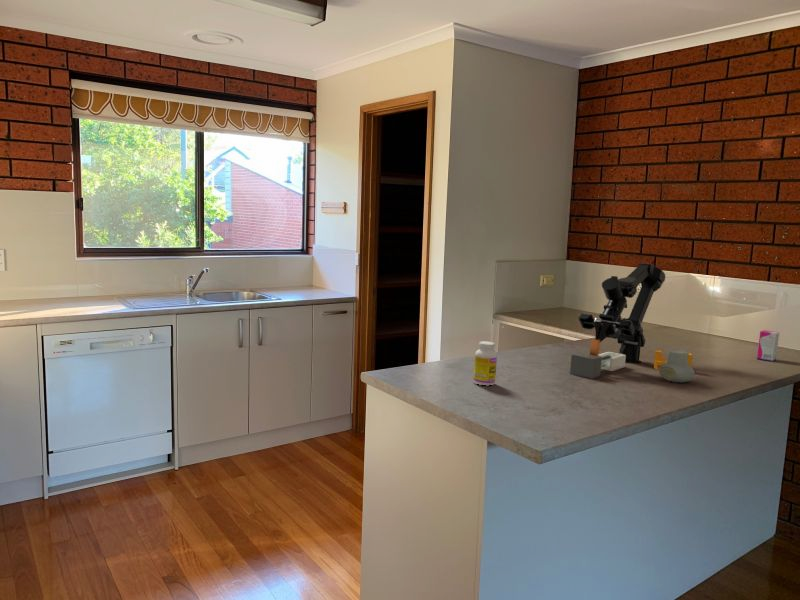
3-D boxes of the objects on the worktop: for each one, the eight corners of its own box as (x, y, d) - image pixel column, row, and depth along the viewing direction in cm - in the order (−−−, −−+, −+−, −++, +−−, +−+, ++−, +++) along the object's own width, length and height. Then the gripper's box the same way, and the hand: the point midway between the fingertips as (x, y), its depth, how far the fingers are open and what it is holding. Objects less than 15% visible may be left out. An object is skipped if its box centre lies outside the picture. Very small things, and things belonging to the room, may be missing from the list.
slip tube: (601, 363, 224) (604, 335, 222) (611, 365, 221) (614, 337, 220) (580, 370, 212) (583, 340, 211) (590, 372, 210) (593, 342, 208)
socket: (578, 371, 216) (579, 352, 215) (600, 376, 210) (601, 356, 210) (569, 373, 212) (571, 354, 211) (592, 378, 206) (593, 359, 205)
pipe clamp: (654, 370, 224) (656, 352, 224) (653, 367, 228) (655, 350, 228) (691, 373, 221) (693, 355, 220) (689, 371, 225) (691, 353, 224)
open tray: (607, 363, 231) (608, 351, 230) (624, 366, 226) (625, 354, 226) (594, 367, 223) (595, 355, 222) (611, 371, 219) (613, 358, 218)
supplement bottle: (489, 388, 189) (492, 346, 187) (469, 384, 193) (472, 342, 191) (498, 383, 195) (501, 342, 193) (478, 379, 198) (481, 339, 196)
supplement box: (776, 360, 252) (780, 331, 250) (772, 362, 247) (776, 333, 246) (760, 357, 256) (763, 329, 254) (756, 359, 251) (759, 331, 250)
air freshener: (653, 377, 213) (657, 348, 212) (672, 375, 216) (675, 347, 215) (679, 385, 203) (683, 355, 202) (698, 384, 206) (701, 354, 205)
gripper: (645, 327, 220) (628, 362, 213) (595, 319, 232) (578, 352, 226) (638, 306, 213) (621, 342, 206) (587, 299, 226) (569, 333, 219)
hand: (596, 343), depth 215 cm, fingers closed
